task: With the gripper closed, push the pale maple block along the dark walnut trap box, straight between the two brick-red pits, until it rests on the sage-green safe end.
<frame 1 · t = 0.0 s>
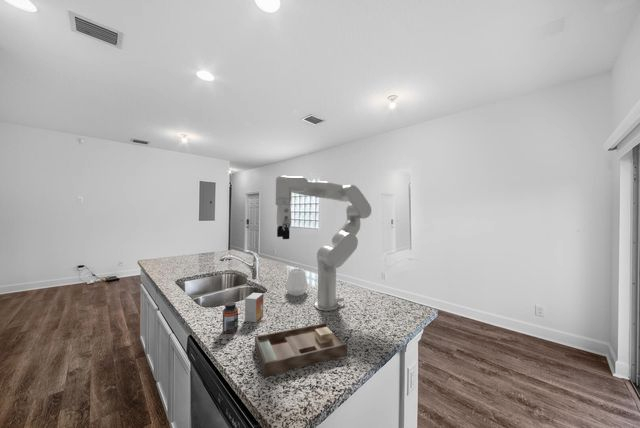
hand: (283, 237, 118), 37 cm above the worktop, tool pointing down, fingers open, 9 cm apart
small box: (254, 318, 114), on the worktop
cup: (296, 293, 148), on the worktop
supplement bottle: (230, 330, 102), on the worktop
trap box: (300, 350, 88), on the worktop
maple block: (323, 338, 92), point 2 cm above the worktop, touching trap box
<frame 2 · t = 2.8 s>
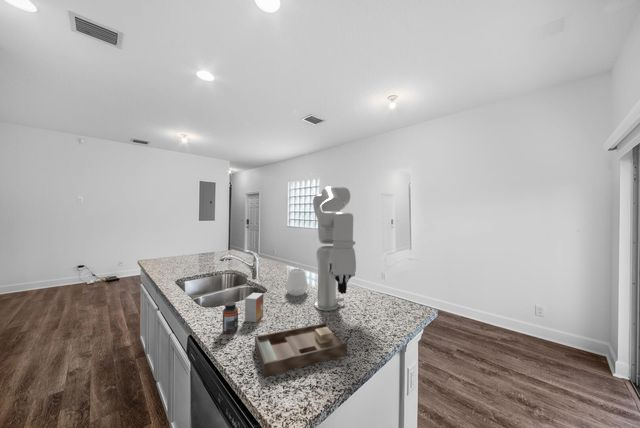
hand: (342, 292, 94), 19 cm above the worktop, tool pointing down, fingers closed
nothing on the worktop moved.
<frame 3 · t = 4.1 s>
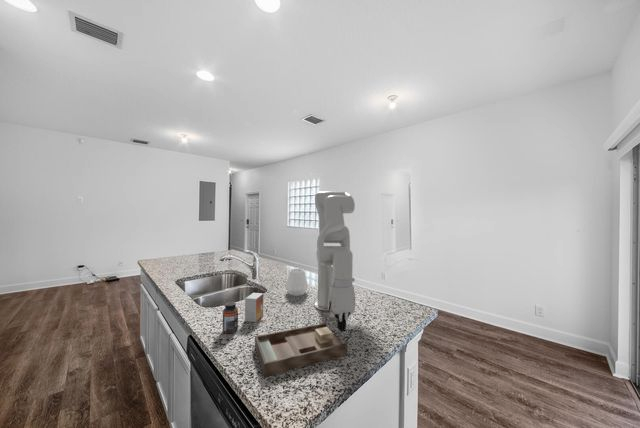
hand: (341, 330, 94), 5 cm above the worktop, tool pointing down, fingers closed
nothing on the worktop moved.
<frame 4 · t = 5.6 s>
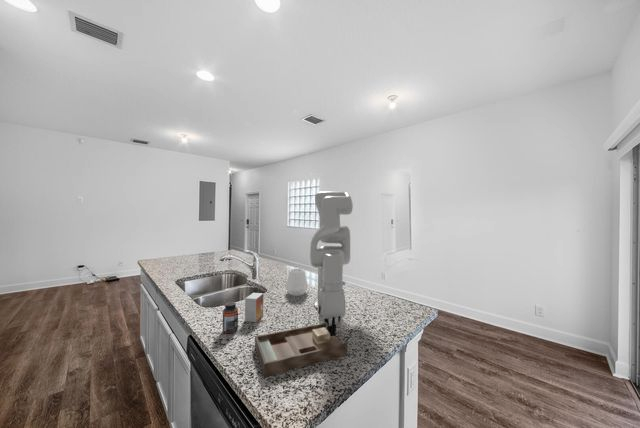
hand: (331, 334, 93), 4 cm above the worktop, tool pointing down, fingers closed
maple block: (320, 339, 91), point 3 cm above the worktop, touching gripper, trap box
everything else where it was.
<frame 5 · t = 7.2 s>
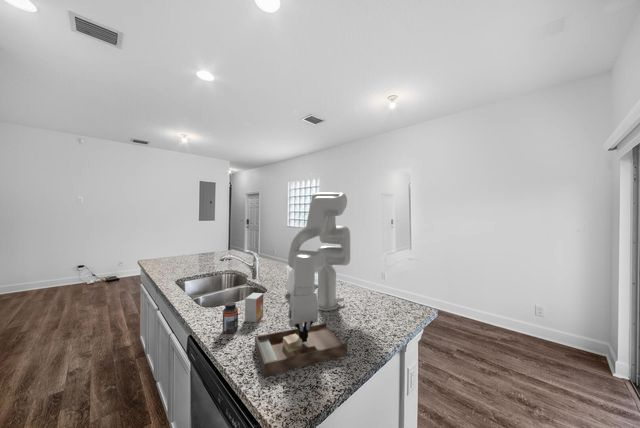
hand: (303, 340, 88), 4 cm above the worktop, tool pointing down, fingers closed
maple block: (292, 346, 86), point 2 cm above the worktop, touching gripper, trap box
everything else where it was.
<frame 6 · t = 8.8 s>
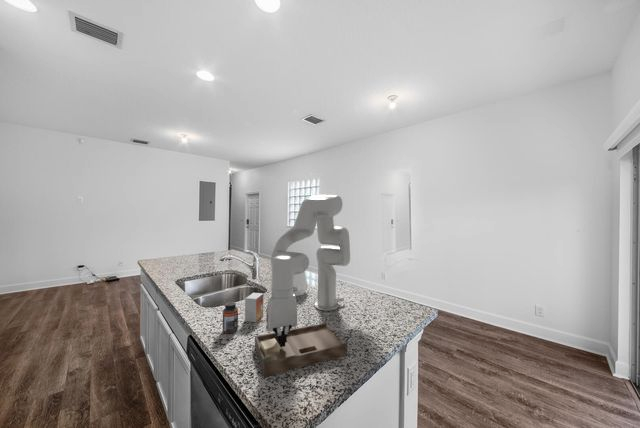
hand: (281, 344, 85), 4 cm above the worktop, tool pointing down, fingers closed
maple block: (270, 352, 82), point 2 cm above the worktop, touching gripper, trap box
everything else where it was.
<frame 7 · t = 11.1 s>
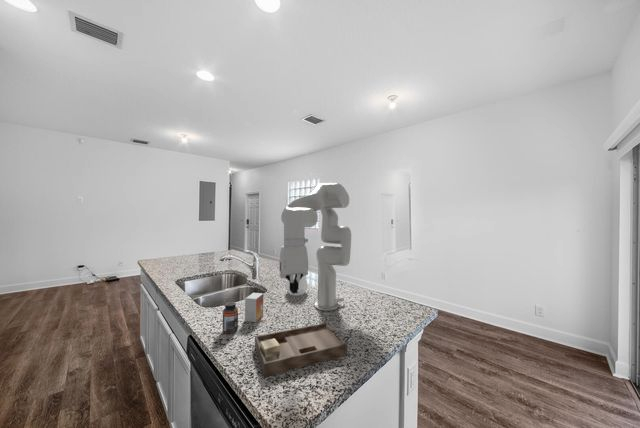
hand: (294, 292, 90), 20 cm above the worktop, tool pointing down, fingers closed
maple block: (270, 352, 82), point 2 cm above the worktop, touching trap box
everything else where it was.
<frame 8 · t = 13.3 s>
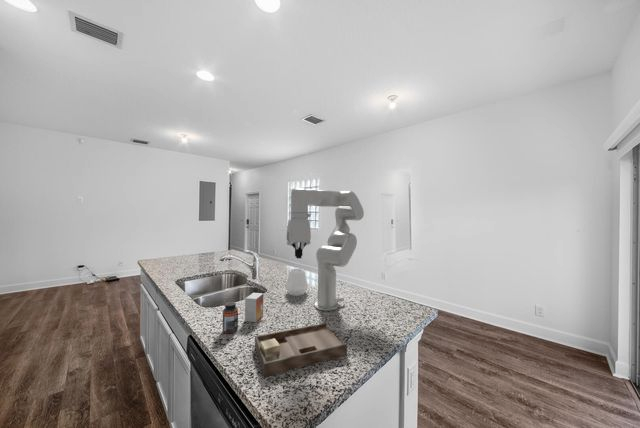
hand: (298, 257, 109), 29 cm above the worktop, tool pointing down, fingers closed
nothing on the worktop moved.
at the end: maple block 0.9 cm from the target spot on the trap box, point 2.5 cm above the trap box's base; maple block tilted 0° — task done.
